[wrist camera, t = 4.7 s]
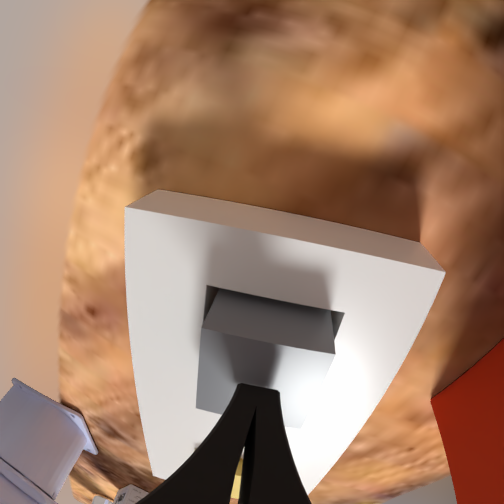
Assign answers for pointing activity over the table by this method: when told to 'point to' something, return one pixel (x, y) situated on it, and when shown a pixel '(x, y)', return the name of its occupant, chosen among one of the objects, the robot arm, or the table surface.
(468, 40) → the table surface
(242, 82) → the table surface
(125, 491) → the light bulb box
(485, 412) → the file binder
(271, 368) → the graphite key
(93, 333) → the table surface
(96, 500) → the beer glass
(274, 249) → the board
